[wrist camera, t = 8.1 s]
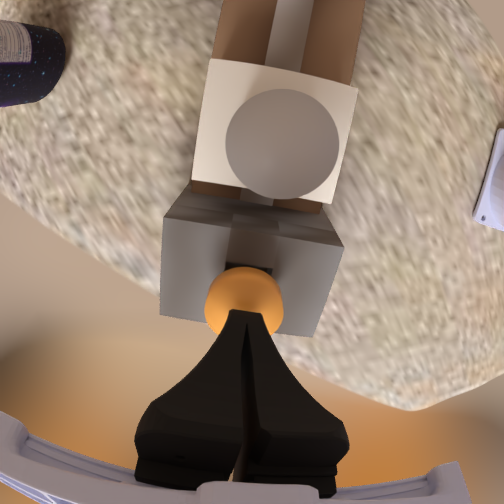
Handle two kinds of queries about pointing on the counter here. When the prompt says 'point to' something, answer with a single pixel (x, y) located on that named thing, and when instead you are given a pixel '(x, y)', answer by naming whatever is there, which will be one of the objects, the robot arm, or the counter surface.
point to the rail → (245, 200)
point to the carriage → (272, 130)
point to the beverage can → (28, 62)
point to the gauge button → (244, 297)
